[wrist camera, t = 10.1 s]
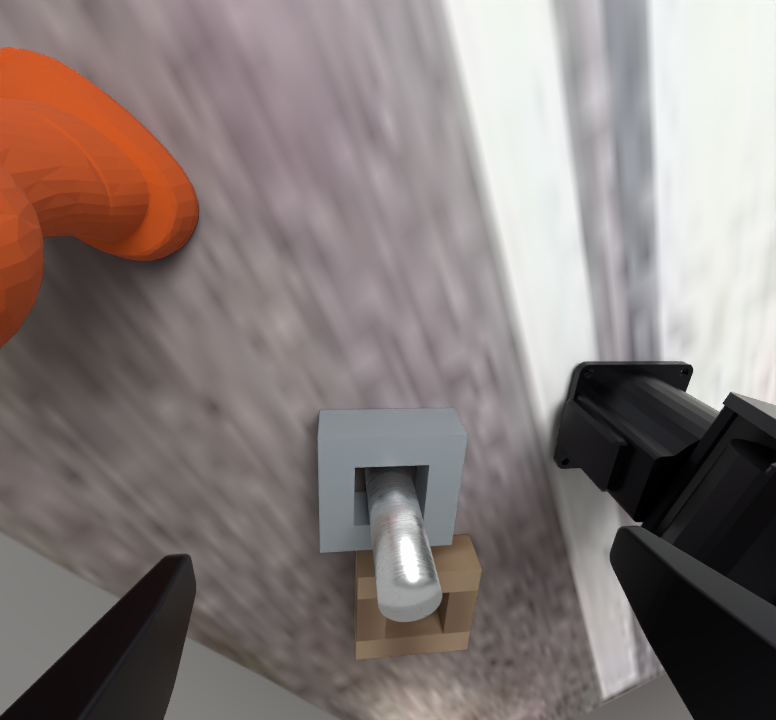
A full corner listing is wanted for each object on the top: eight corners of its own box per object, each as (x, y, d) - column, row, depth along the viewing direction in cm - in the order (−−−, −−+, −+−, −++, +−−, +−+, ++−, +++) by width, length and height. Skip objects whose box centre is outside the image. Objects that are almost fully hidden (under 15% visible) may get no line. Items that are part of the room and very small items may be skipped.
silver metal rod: (408, 445, 22) (445, 574, 14) (405, 481, 23) (438, 619, 15) (364, 446, 21) (379, 579, 14) (363, 482, 22) (376, 624, 15)
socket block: (468, 534, 25) (482, 569, 23) (455, 611, 28) (466, 649, 25) (355, 540, 24) (358, 577, 22) (354, 619, 27) (355, 660, 24)
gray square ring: (453, 407, 21) (468, 434, 19) (440, 511, 24) (451, 544, 22) (319, 410, 20) (317, 438, 18) (321, 516, 23) (320, 552, 21)
